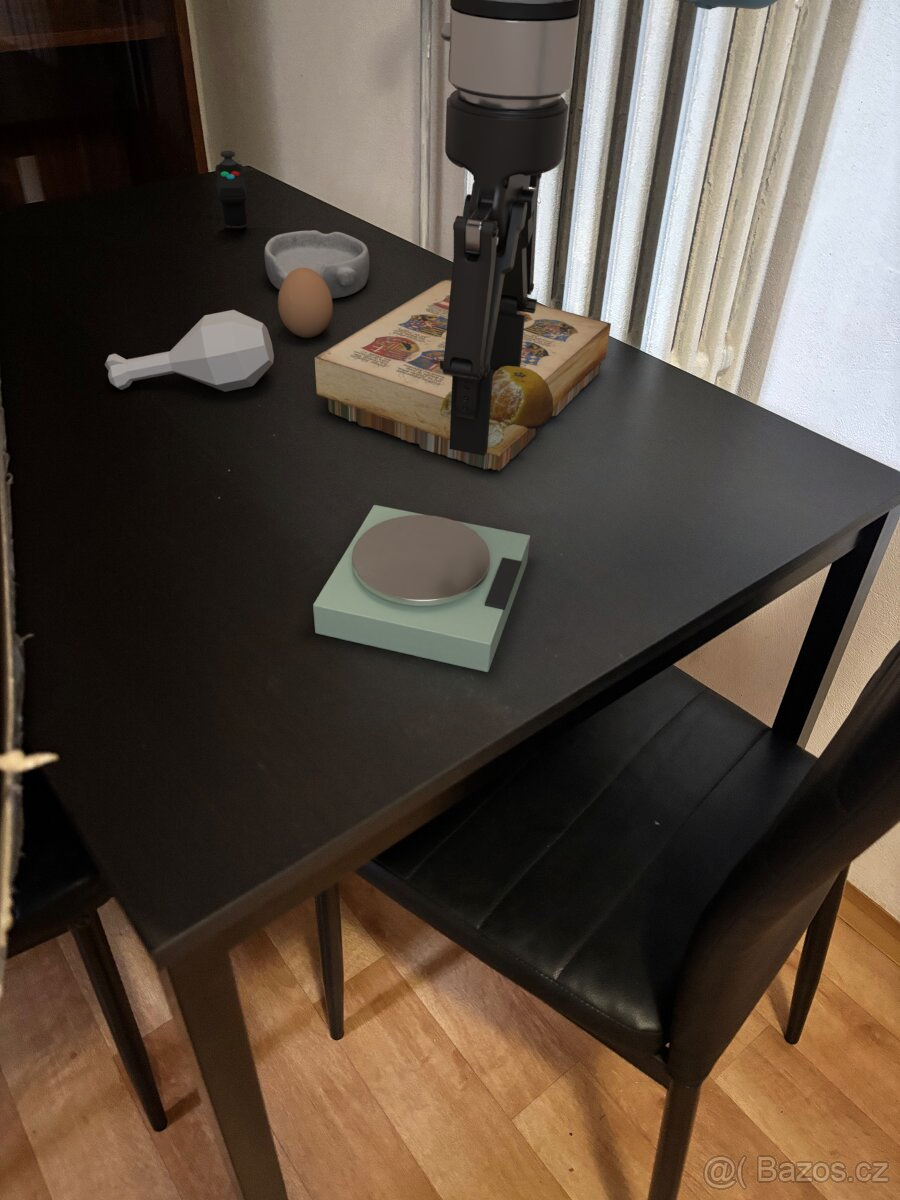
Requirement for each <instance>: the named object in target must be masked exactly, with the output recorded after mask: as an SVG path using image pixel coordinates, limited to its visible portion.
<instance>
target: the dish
mask: <svg viewBox="0 0 900 1200" xmlns="http://www.w3.org/2000/svg"><path fill="white" fill-rule="evenodd" d="M264 264H265V270H266V273H267V274H266V275H267V277H268V280H269V282H270V283H271V284H272V286H273V287H275V288H276V289H277V290H279V291H280V289H281V286H282V283H283V282H284V280H285V278H286V277H287V275H288V274H289V273H290V272H292V271H294V270H295V269H298V268H309V269H312V270H313V271H315V272H317V273H318V274H319V275H320V276H321V277H322V279H323V280H324V281H325V283H326V285H327V287H328V289H329V291H330V293H331V297H332V299H338V298H344V297H347V296H351V295H353V294H356V293H357V292H359V291H360V290H362V289H363V288H364V287H365V286H366V284H367V282H368V279H369V275H370V254H369V249H368V247H367V245H366V243H364V242H363V241H361V240H359V239H357V238H356V237H353V236H351V235H348V234H346V233H344V232H340V231H333V232H330V233H323V232H320V231H319V230H313V229H312V230H299V231H291V232H285V233H280V234H277V235H275V236H273V237H270V239H269V240H268V241H267V242H266V244H265V246H264Z"/></svg>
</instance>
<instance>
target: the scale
mask: <svg viewBox="0 0 900 1200" xmlns="http://www.w3.org/2000/svg"><path fill="white" fill-rule="evenodd" d="M410 515H424V514H423V513H418V512H412V511H408V510H403V509H397V508H393V507H388V506H382V505H377V504H374V505H373V506H372V508H371V509H370V511H369V513H368V514H367V516H366V518H365V519H364V520H363V522H362V524H361V525H360V527H359V529H358V530H357V532H356V534H355V536H354V537H353V539H352V540H351V542H350V543H349V545H348V547H347V549H346V550H345V552H344V553H343V555H342V557H340V558H341V559H340V560H339V562H338V563H337V565H336V566H335V568H334V570H333V571H332V573H331V575H330V576H329V578H328V580H327V581H326V583H325V584H324V586H323V587H322V589H321V591H320V593H319V594H318V596H317V598H316V599H315V601H314V603H312V607H313V608H312V609H313V621H314V633H315V634H318V635H321V636H326V637H331V638H334V639H339V640H343V641H348V642H352V643H356V644H357V643H358V644H360V645H361V644H362V645H364V646H365V645H366V646H370V647H375V648H378V649H383V650H388V651H393V652H395V653H399V654H406V655H410V656H413V657H418V658H424V659H427V660H432V661H435V662H436V661H437V662H441V663H445V664H449V665H453V666H457V667H462V668H467V669H471V670H475V671H481V672H484V673H489V672H490V668H491V666H492V663H493V660H494V657H495V654H496V652H497V648H498V646H499V644H500V641H501V637H502V635H503V631H504V630H505V626H506V623H507V621H508V617H509V615H510V611H511V609H512V607H513V603H514V602H515V601H514V600H515V598H516V596H517V592H518V589H519V587H520V584H521V581H522V578H523V577H524V573H525V570H526V567H527V564H528V559H529V551H530V541H531V535H530V534H525V533H520V532H515V531H509V530H505V529H499V528H494V527H490V526H484V525H478V524H474V523H470V522H464V521H458V520H456V521H457V522H459V523H461V524H464V525H465V526H467V527H469V528H471V529H472V530H473V531H475V532H476V533H477V534H478V535H479V536H480V537H481V538H482V539H483V540H484V541H485V543H486V545H487V547H488V549H489V552H490V569H489V573H488V575H487V577H486V579H485V581H484V582H483V583H482V584H481V586H479V587H478V588H477V589H476V590H475V591H474V592H472V593H471V594H469V595H467V596H465V597H464V598H461V599H459V600H456V601H453V602H450V603H446V604H441V605H433V606H412V605H405V604H399V603H395V602H392V601H389V600H386V599H383V598H381V597H379V596H377V595H375V594H374V593H372V592H371V591H369V590H368V589H367V588H366V587H364V586H363V585H362V583H361V582H360V581H359V580H358V578H357V576H356V575H355V572H354V570H353V564H352V553H353V549H354V546H355V544H356V542H357V541H358V540H359V538H360V537H361V536H362V535H363V534H364V533H365V532H366V531H367V530H369V529H370V528H372V527H373V526H375V525H377V524H379V523H381V522H383V521H386V520H389V519H393V518H397V517H402V516H410Z"/></svg>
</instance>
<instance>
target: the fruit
mask: <svg viewBox="0 0 900 1200" xmlns="http://www.w3.org/2000/svg"><path fill="white" fill-rule="evenodd" d="M451 397H452V391H451V392H449V393H448V394H447V395H446V397H445V398H444V400H443V403H442V407H441V410H440V415H441V416H442V417H448V419H449V418H450V417H451ZM552 413H553V398H552V393H551V392H550V389H549V387H548V384H547V383H546V382H545V380H544V379H542V377H541V376H539V375H538V374H537V373H536V372H534V371H532V370H530V369H527V368H522V367H516V366H503V367H501V368H499V369H498V370H497V371H495V372H494V374H493V380H492V394H491V407H490V421H489V434H488V448H487V449H489V448H492V447H494V446H497V445H499V444H500V443H501V442H502V441H503V436H504V430H505V428H506V427H508V426H511V425H519V426H523V427H526V428H527V429H536V430H540V429H541V428H543V427H545V426H546V425H547V423H548V422H549V421H550V420H551V418H552V417H553V416H552Z"/></svg>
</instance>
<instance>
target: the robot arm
mask: <svg viewBox="0 0 900 1200" xmlns="http://www.w3.org/2000/svg"><path fill="white" fill-rule="evenodd" d="M580 1H581V0H450V1H449V5H450V8H449V9H450V10H449V13H450V14H449V22H444V23H443V24H442V27H441V29H440V36H441V38H442V40H443V41H445V42H449V50H448V69H447V71H448V73H447V74H448V75H447V80H448V82H449V83H450V84H451V85H452V86H453V87H454V89H455V90H454V91H452V92H451V93H450V95H449V97H447V99H446V107H445V109H446V110H445V137H444V139H445V140H444V142H445V143H444V151H445V155H446V157H447V158H448V160H449V161H450V162H451V163H452V164H453V165H455V166H457V167H458V168H462V169H463V168H464V169H465V170H467V171H468V172H469V173H470V174H471V175H472V177H473V179H472V180H473V183H472V186H471V193H470V194H469V193H467V194H466V196H465V199H464V204H463V210H462V215H456V216H455V219H454V222H453V224H452V229H453V259H452V270H451V279H450V281H451V290H450V300H449V311H448V321H447V332H446V342H445V353H444V361H442V360H440V369H441V370H443V373H444V374H447V375H452V397H451V420H450V444H449V449H452V450H457V451H462V452H467V453H473V454H478V455H483V456H485V454H486V452H487V448H488V434H489V421H490V407H491V394H492V380H493V374H494V372H495V371H497V370H498V369H499V368H501V367H503V366H516V367H520V364H521V353H522V343H523V332H524V321H525V315H520V311H521V312H527V313H533V314H534V313H535V310H536V305H537V304H538V299H537V298H530V297H528V296H531V295H532V294H533V293H532V292H533V291H534V289H535V283H534V279H535V277H534V275H535V260H536V259H535V254H536V238H537V221H538V219H537V217H538V203H539V201H538V199H539V192H540V183H541V179H542V176H543V175H542V174H545V173H548V172H550V171H553V170H554V169H556V168H557V167H558V166H559V165H560V164H561V162H562V160H563V158H564V151H565V141H566V132H567V123H568V115H569V114H568V113H569V105H568V104H567V103H566V99H565V98H563V96H562V95H563V94H565V93H566V92H568V91H569V90H570V89H571V88H572V87H573V78H574V68H575V60H576V59H575V57H576V51H577V49H576V48H577V40H578V32H579V31H578V30H579V21H580V13H579V11H580ZM677 1H678V2H683V3H689V4H694V6H695V8H700V9H704V10H708V11H710V10H712V9H716V8H734V9H735V8H736V9H746V10H761V9H763V8H768V7H770V6H772V5H774V4H775V3H777V2H778V1H779V0H677Z"/></svg>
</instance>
